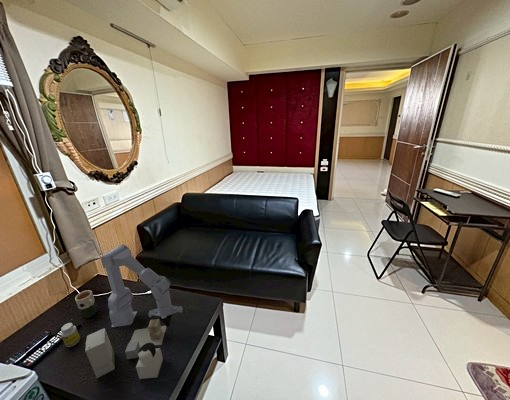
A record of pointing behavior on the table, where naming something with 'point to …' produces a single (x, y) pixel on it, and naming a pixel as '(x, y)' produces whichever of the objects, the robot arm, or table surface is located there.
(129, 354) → the slate block
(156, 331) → the birch block
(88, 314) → the character mug
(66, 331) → the supplement bottle
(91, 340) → the skincare box
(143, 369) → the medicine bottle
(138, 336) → the felt mat
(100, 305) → the table surface
